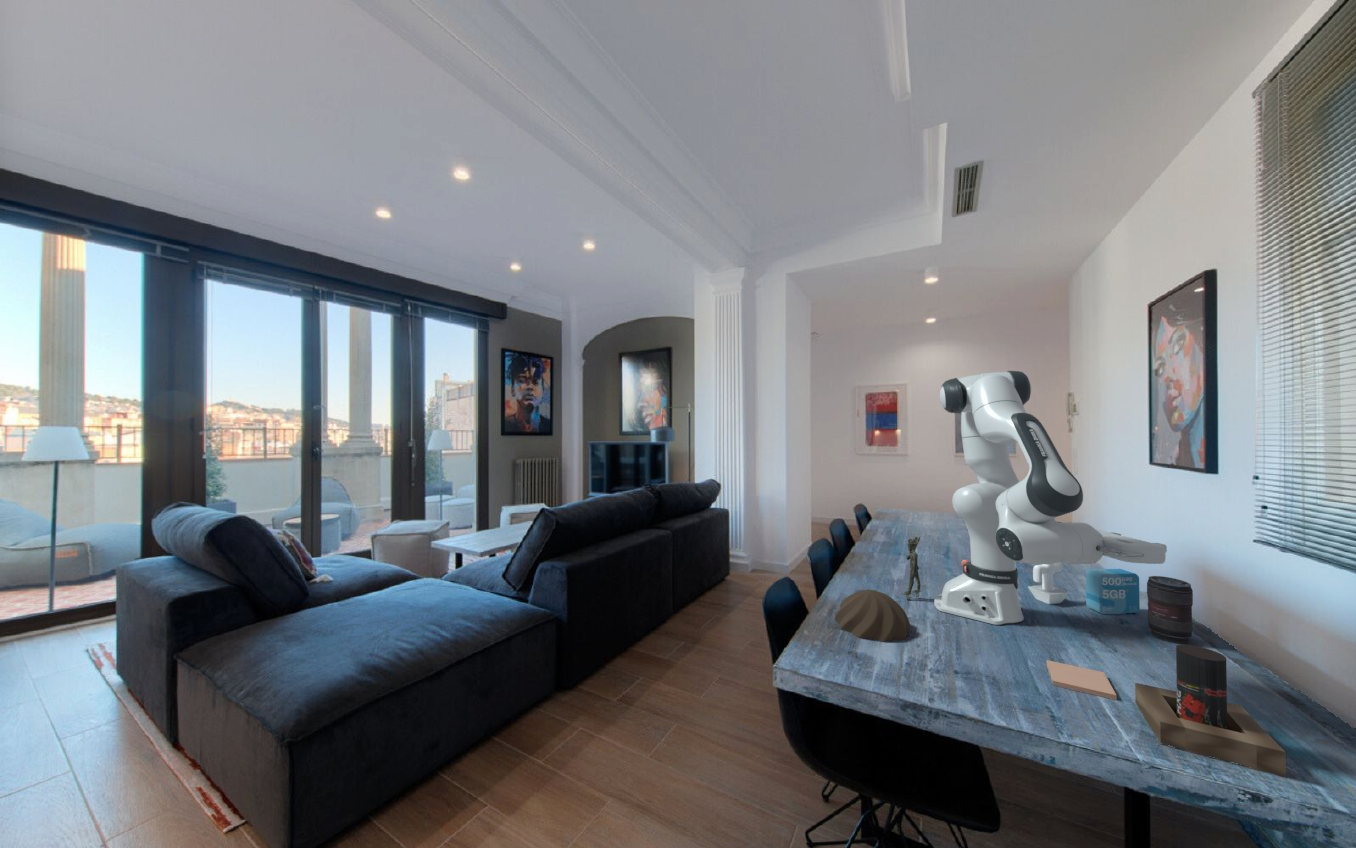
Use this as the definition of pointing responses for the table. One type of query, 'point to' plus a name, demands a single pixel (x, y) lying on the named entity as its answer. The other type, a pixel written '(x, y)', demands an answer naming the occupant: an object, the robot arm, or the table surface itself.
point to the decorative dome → (873, 616)
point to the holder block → (1211, 732)
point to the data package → (1112, 591)
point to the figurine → (1047, 584)
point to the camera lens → (1170, 609)
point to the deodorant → (1201, 685)
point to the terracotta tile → (1080, 679)
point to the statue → (913, 567)
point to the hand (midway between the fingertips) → (1139, 542)
